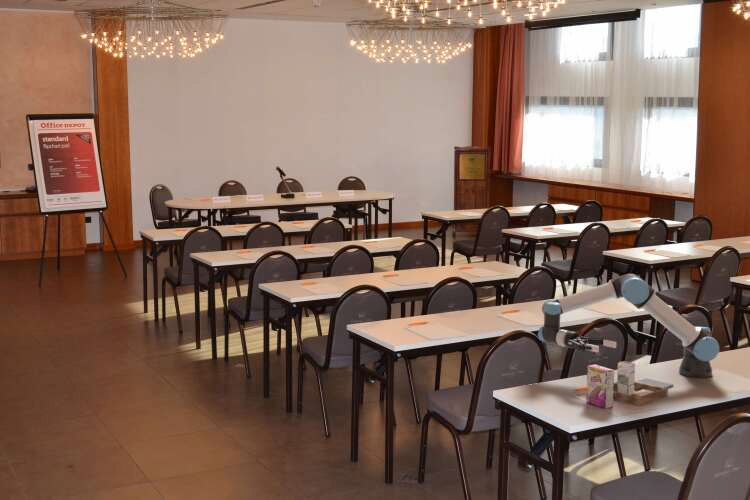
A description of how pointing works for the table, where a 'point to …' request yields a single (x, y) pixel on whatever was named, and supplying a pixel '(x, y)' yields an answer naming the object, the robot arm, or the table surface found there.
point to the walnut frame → (656, 394)
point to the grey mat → (656, 383)
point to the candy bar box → (600, 386)
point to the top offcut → (641, 393)
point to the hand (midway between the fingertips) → (607, 347)
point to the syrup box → (626, 377)
